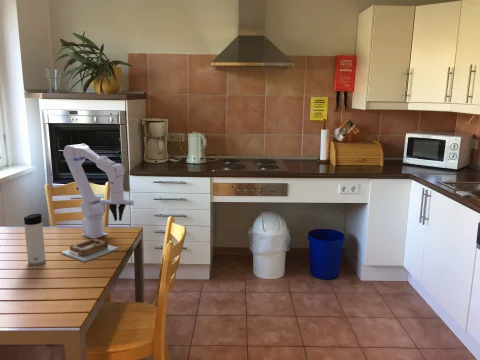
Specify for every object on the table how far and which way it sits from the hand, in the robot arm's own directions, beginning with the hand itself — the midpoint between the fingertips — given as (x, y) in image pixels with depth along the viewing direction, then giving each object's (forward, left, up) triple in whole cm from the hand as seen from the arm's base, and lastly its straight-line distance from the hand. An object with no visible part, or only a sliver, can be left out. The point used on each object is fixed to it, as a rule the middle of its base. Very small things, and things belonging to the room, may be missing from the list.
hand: (118, 220), depth 188 cm
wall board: (0, -16, -10) cm, 19 cm away
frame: (0, -16, -9) cm, 18 cm away
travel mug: (-7, -35, -10) cm, 37 cm away
